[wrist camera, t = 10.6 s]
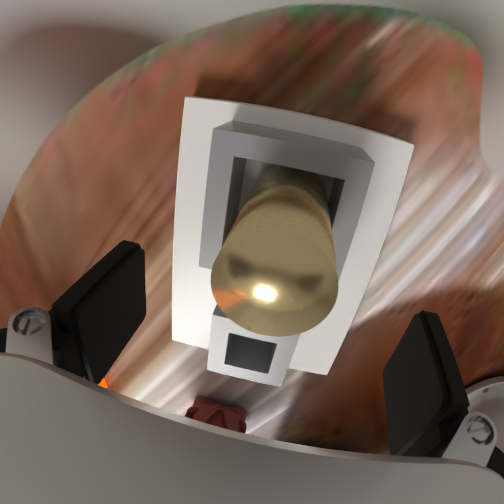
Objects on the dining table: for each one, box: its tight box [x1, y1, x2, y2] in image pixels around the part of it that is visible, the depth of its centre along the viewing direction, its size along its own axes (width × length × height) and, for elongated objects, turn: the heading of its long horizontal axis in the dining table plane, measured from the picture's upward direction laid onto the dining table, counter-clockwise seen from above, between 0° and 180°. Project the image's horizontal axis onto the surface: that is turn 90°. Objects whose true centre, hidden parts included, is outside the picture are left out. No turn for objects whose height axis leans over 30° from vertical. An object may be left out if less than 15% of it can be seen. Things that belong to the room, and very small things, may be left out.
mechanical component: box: [185, 396, 247, 433], centre depth 29 cm, size 12×10×10 cm
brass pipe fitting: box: [211, 164, 338, 337], centre depth 15 cm, size 4×4×10 cm
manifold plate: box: [172, 96, 414, 387], centre depth 21 cm, size 14×20×6 cm
